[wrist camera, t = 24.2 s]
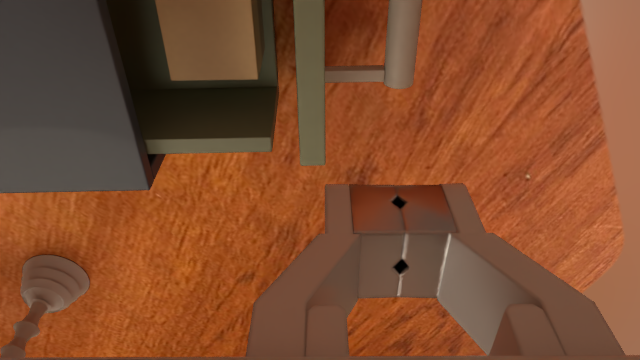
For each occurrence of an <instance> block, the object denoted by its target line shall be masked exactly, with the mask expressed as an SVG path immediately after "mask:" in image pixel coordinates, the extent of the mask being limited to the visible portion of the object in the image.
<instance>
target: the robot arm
mask: <svg viewBox="0 0 640 360" xmlns="http://www.w3.org/2000/svg"><path fill="white" fill-rule="evenodd" d="M386 297H412V298H438V299H437V300H438V301H439V302H440V303H441V305H442V306H443V307H444V308H445V309H446V310H447V311H448V312H449V313H450V314H451V316H452V317H453V318H454V319H455V320H456V321H457V322H458V323H459V324H460V326H461V327H462V328H463V329H464V330H465V331H466V332H467V333H468V334H469V335H470V337H471V338H472V339H473V340H474V341H475V342H476V343H477V344H478V345H479V346H480V348H481V349H482V350H483V351H484V352H485V353H486V354H487V355H488V356H349V348H348V333H347V317H348V315H349V314H350V312H351V310H352V309H353V307H354V306H355V304H356V302H357V299H358V298H386ZM0 360H640V355H625V353H624V351H623V350H622V348H621V346H620V345H619V343H618V341H617V340H616V338H615V336H614V335H613V333H612V331H611V329H610V328H609V326H608V324H607V323H606V321H605V320H604V318H603V316H602V314H601V313H600V311H599V309H598V307H597V306H596V304H595V302H593V301H592V300H590V299H589V298H587V297H586V296H585V295H583V294H582V293H580V292H579V291H577V290H576V289H574V288H573V287H571V286H570V285H568V284H567V283H566V282H564V281H563V280H561V279H560V278H558V277H557V276H555V275H554V274H552V273H551V272H549V271H548V270H546V269H545V268H544V267H542V266H541V265H539V264H538V263H536V262H535V261H533V260H532V259H530V258H529V257H527V256H526V255H525V254H523V253H522V252H520V251H519V250H517V249H516V248H514V247H513V246H511V245H510V244H508V243H507V242H506V241H504V240H503V239H501V238H500V237H498V236H497V235H495V234H494V233H486V232H485V229H484V227H483V225H482V222H481V220H480V218H479V215H478V213H477V211H476V208H475V206H474V204H473V201H472V199H471V197H470V194H469V192H468V190H467V187H466V186H465V185H464V184H463V183H456V184H439V185H365V184H349V186H348V184H326V185H325V234H318V235H317V236H316V237H315V239H314V240H313V241H312V242H311V243H310V244H309V245H308V246H307V247H306V248H305V249H304V250H303V251H302V252H301V253H300V254H299V256H298V257H297V258H296V259H295V260H294V261H293V262H292V263H291V264H290V265H289V266H288V267H287V268H286V269H285V270H284V271H283V273H282V274H281V275H280V276H279V277H278V278H277V279H276V280H275V281H274V282H273V283H272V284H271V285H270V286H269V287H268V289H267V290H266V291H265V292H264V293H263V294H262V295H261V296H260V297H259V298H258V299H257V300H256V301H255V302H254V306H253V312H252V319H251V325H250V332H249V339H248V345H247V352H246V357H54V358H0Z"/></svg>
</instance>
